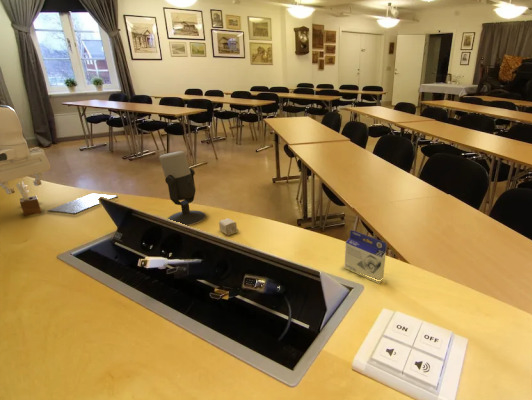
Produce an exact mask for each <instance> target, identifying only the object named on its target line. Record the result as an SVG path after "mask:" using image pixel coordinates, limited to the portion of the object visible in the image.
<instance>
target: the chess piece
mask: <svg viewBox="0 0 532 400" xmlns="http://www.w3.org/2000/svg"><path fill="white" fill-rule="evenodd" d="M21 185H22V187H23V188H24V190H25V192H26V194H27V196H28V197H31V196H30V195H29V193H30V190H28V185H27V184H25V182H24V181H23V180H22V181H21Z"/></svg>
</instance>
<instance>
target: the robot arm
mask: <svg viewBox="0 0 532 400" xmlns="http://www.w3.org/2000/svg"><path fill="white" fill-rule="evenodd" d="M27 142H28V141H27V140H26V139H25V137H24V134H23V127H22V123H21V121H20V119H19V115H18V114H17V112H16V111H15V109H13V108H12V107H11V106H9V105H5V104H0V187H1V188H2V189H3V190H5V193H6V194H8V195H12V194H14V193H15V189H14V187H10V186H9V182H12V181H15V180H19V179H23V178H26V177H30V176H34V177H35V178H34V180H32V183H33V185H34V186H35V187H38V186H42V178H43V173H45V172H49V171H50V170H51V168H52V167H51V163H50V162H49V159H48V157H47V156H46V152H45V150H44V149H43V148H42V147H39V146H35V147H32V148H30V147H29V146H28V143H27Z"/></svg>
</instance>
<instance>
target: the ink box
mask: <svg viewBox="0 0 532 400" xmlns="http://www.w3.org/2000/svg"><path fill="white" fill-rule="evenodd" d="M349 231H350V232H349V238H348V239H347V240H346V241H345V250H344V264H343V265H344V269H346V270H348V271H349V272H352V273H354V274H356V275H359V276H360V277H363V278H365V279H367V280H369V281H371V282H373V283H376V284H378V285H380V284H381V283H382V282H383V281H384V276H385V267H386V255H387V247H388V243H387V242H386V241H384V240H380V239H377V238H375V237H372V236H370V235H368V234H364V233H361V232H359V231H356V230H354V229H350V230H349ZM367 240H368V241H367ZM360 273H361V274H360ZM363 274H364V275H363ZM365 275H367V276H369V277H372V278H375V279H377V280H381V279H382V278H383V279H382V280H381V281H376V280H374V279H372V278H369V277H367V276H365Z"/></svg>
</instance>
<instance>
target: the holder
mask: <svg viewBox="0 0 532 400" xmlns="http://www.w3.org/2000/svg"><path fill="white" fill-rule="evenodd" d="M28 198H29V199H30V200H24V199H23V197H21V198H19V203H20V207H21V209H22V212H23V215H24V217H27V216H31V215H32V216H33V215H38V214H42V208H41V204H40V202H39V199H38V196H37V195H33V196H30V197H28Z"/></svg>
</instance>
